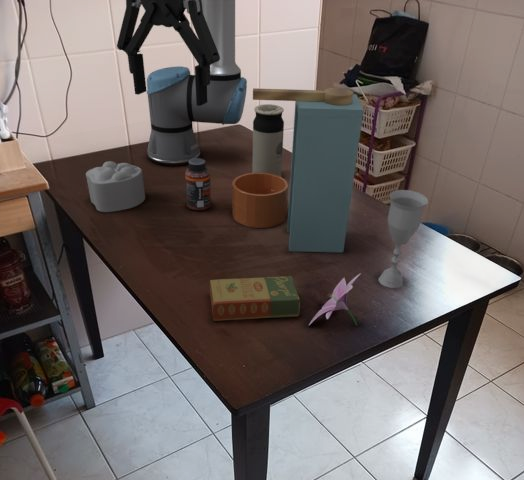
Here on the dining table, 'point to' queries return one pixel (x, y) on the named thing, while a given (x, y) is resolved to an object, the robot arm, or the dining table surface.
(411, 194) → the chalice
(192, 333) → the dining table surface
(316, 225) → the teal bin
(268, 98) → the tan disc-ended rod
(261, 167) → the travel mug
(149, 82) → the robot arm
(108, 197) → the lumpy-topped squat cylinder
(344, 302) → the lily
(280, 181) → the pot
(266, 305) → the carton
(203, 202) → the supplement bottle
